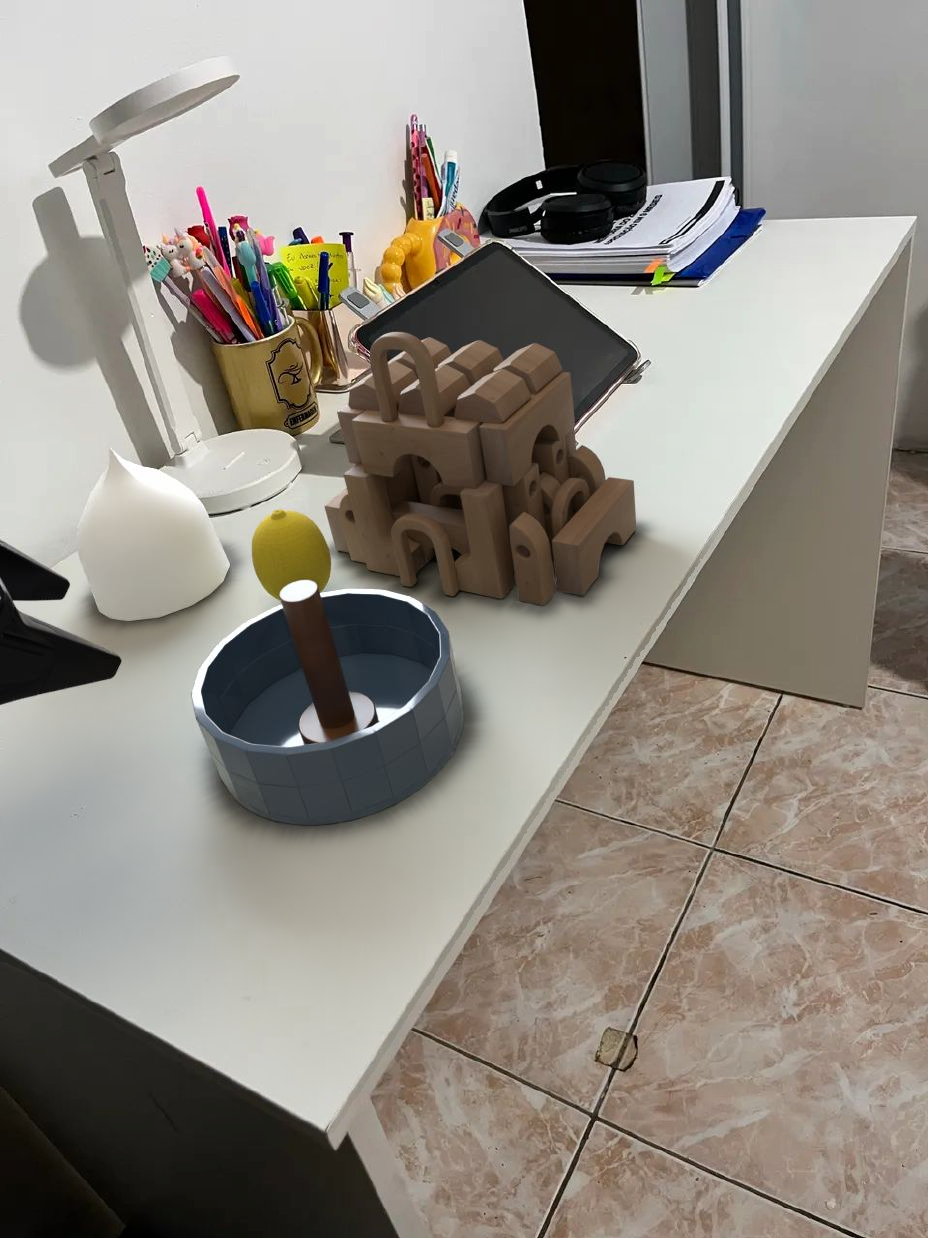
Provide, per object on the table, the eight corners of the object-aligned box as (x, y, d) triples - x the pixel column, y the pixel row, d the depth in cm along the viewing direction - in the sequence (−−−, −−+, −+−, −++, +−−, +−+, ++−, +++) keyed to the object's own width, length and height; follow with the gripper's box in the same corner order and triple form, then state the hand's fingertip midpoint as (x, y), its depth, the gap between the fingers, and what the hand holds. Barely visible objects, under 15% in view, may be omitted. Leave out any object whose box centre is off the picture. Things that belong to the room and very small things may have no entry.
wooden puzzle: (647, 516, 74) (635, 273, 63) (564, 621, 64) (534, 356, 54) (415, 482, 85) (372, 270, 74) (315, 567, 75) (249, 338, 65)
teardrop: (229, 533, 82) (185, 403, 75) (230, 599, 73) (180, 459, 66) (102, 563, 81) (45, 435, 74) (87, 635, 72) (21, 496, 65)
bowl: (360, 862, 50) (336, 789, 47) (169, 774, 58) (138, 706, 55) (510, 690, 59) (498, 619, 56) (328, 635, 67) (309, 570, 64)
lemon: (275, 588, 74) (246, 497, 69) (345, 579, 73) (320, 487, 69) (263, 629, 69) (231, 535, 65) (337, 620, 69) (310, 525, 64)
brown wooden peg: (344, 761, 55) (301, 624, 50) (284, 738, 58) (237, 605, 52) (393, 711, 59) (358, 576, 53) (334, 691, 61) (295, 560, 55)
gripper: (-205, 385, 29) (233, 549, 39) (-225, 289, 42) (105, 430, 53) (-338, 702, 30) (119, 778, 41) (-316, 511, 44) (23, 605, 54)
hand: (90, 626), depth 47 cm, fingers open, 9 cm apart
